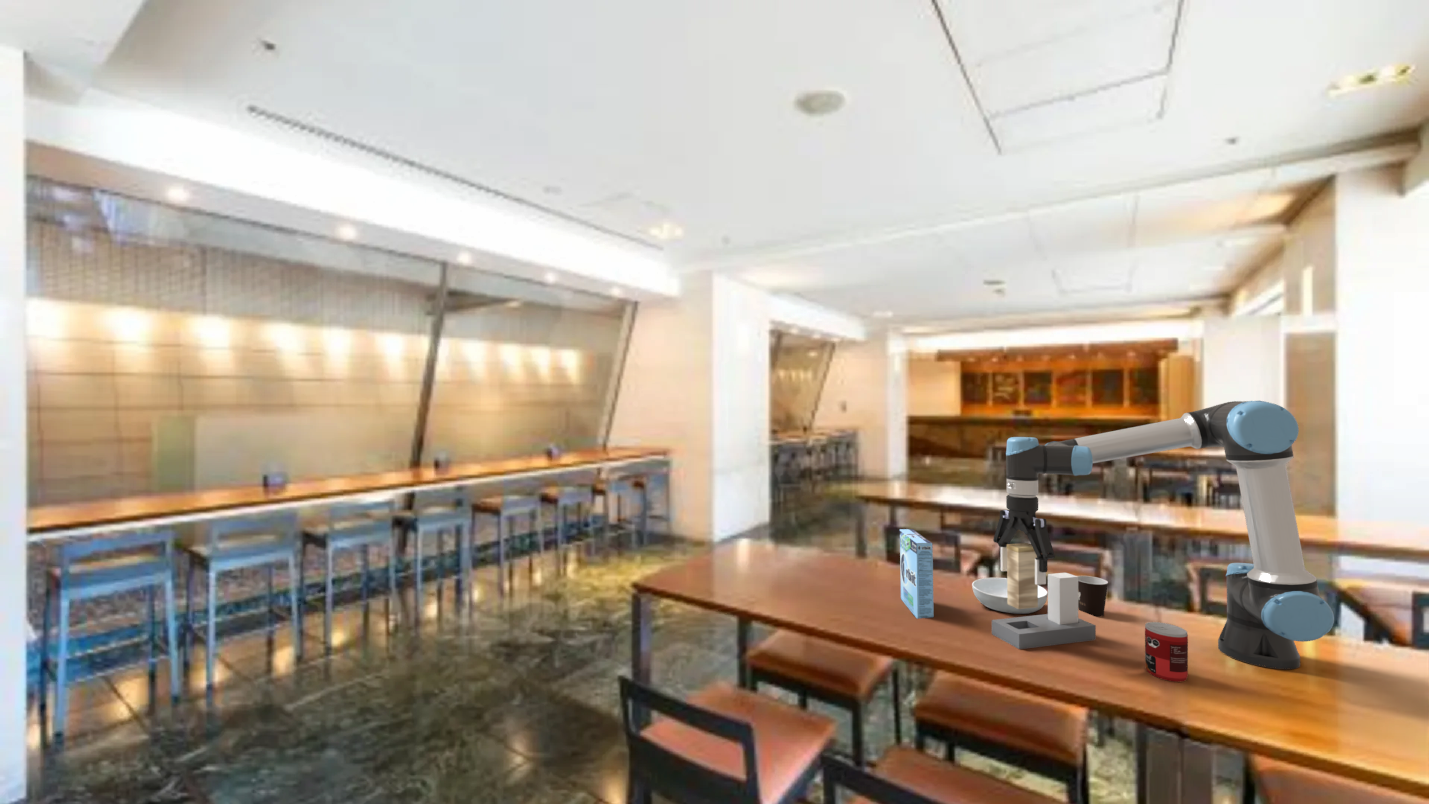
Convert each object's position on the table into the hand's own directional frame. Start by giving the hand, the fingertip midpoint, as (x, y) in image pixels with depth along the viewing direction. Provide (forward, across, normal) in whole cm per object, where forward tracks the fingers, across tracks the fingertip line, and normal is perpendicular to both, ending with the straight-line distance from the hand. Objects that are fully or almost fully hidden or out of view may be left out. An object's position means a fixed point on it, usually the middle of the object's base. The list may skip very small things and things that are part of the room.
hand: (1022, 577), depth 155 cm
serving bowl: (+18, -23, +16) cm, 33 cm away
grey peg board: (+18, 0, +6) cm, 19 cm away
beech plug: (+8, 0, 0) cm, 8 cm away
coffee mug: (+18, -15, +38) cm, 45 cm away
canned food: (+18, +23, +20) cm, 35 cm away
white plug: (+16, 0, +13) cm, 21 cm away
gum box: (+18, -30, -12) cm, 37 cm away
